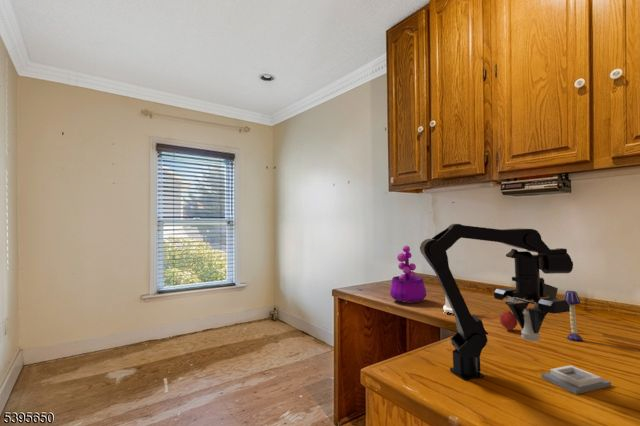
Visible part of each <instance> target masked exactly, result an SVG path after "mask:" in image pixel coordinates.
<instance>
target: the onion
mask: <svg viewBox="0 0 640 426" xmlns="http://www.w3.org/2000/svg"><path fill="white" fill-rule="evenodd" d="M499 322H500V324H501V326H502V327H504V328H505V329H506V331H512V330H514V329H515V328H516V327H517V325H518V321H517V319H516V317H515V315H514V314H513V312H512V311H510V309H506V310H505V312H503V313H502V314H501V315H500V317H499Z"/></svg>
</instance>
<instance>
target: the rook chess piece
mask: <svg viewBox="0 0 640 426" xmlns="http://www.w3.org/2000/svg"><path fill="white" fill-rule="evenodd" d="M530 308H531V307H530ZM530 308H528V307H527V308H524V311H523V312H522V313H523V314H524V328H523V329H522V330H521V331H520V333H521V335H520V337H521V338H522V340H525V341H529V342H538V341H539V340H541V337H540V332H538V333H534V331H533V328H532V323H531V319H530V315H529V310H528V309H530Z"/></svg>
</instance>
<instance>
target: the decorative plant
mask: <svg viewBox="0 0 640 426" xmlns="http://www.w3.org/2000/svg"><path fill="white" fill-rule="evenodd" d="M410 250H411V247H410V246H409V245H407V244H406V245H404V246H402V251H403V252H401V253H398V254H397V257H396V260H397V261H398V266H397V267H398V269H399V270H401V271H402V272H403V274H400V275H397V276H394V277H392V278H391V285H390V289H389V295H390V296H391V298H392V299H393V300H395V301H398V302H400V301H405V302H415V303H418V302H422V301H424V300H425V298H426V297H427V290H426V287H425V283H424V282H425V281H424V278H423V277H421V276H417V274H416V272H414V271H415V270H416V269H417V265H416V264H415V263H413V262H412V263H411V262H409V260H410V259H411V258H412V253H411V252H410ZM417 301H418V302H417ZM405 302H404V303H405Z"/></svg>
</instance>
